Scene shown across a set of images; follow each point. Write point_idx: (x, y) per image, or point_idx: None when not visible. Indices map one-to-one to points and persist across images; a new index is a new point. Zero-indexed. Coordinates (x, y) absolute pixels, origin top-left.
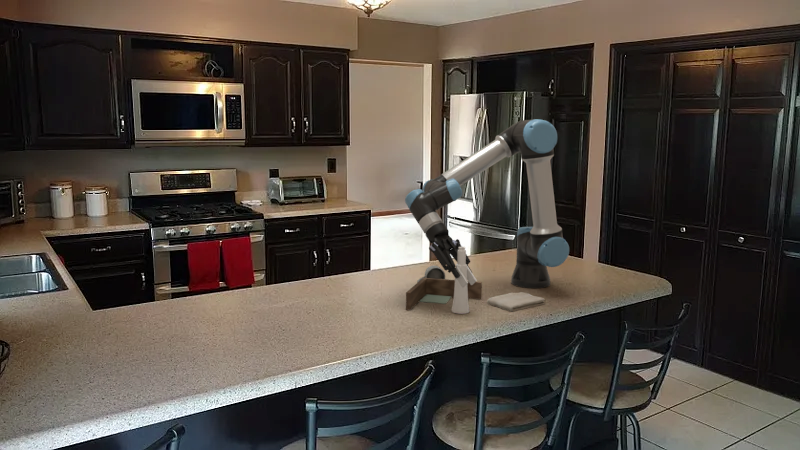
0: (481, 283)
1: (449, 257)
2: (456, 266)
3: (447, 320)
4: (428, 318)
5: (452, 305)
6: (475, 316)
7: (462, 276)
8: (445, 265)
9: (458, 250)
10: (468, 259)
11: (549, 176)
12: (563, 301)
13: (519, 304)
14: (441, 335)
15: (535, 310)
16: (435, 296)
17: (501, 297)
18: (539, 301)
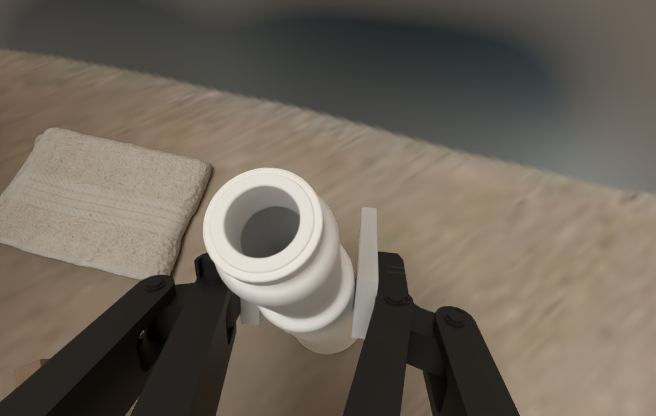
0: (36, 362)
1: (394, 386)
2: (349, 304)
3: (462, 279)
4: (506, 359)
5: (350, 341)
6: (343, 229)
7: (376, 232)
8: (435, 392)
9: (328, 259)
10: (141, 294)
11: None
12: (5, 111)
13: (163, 153)
14: (603, 193)
15: (153, 124)
16: None
17: (114, 241)
18: (78, 133)
